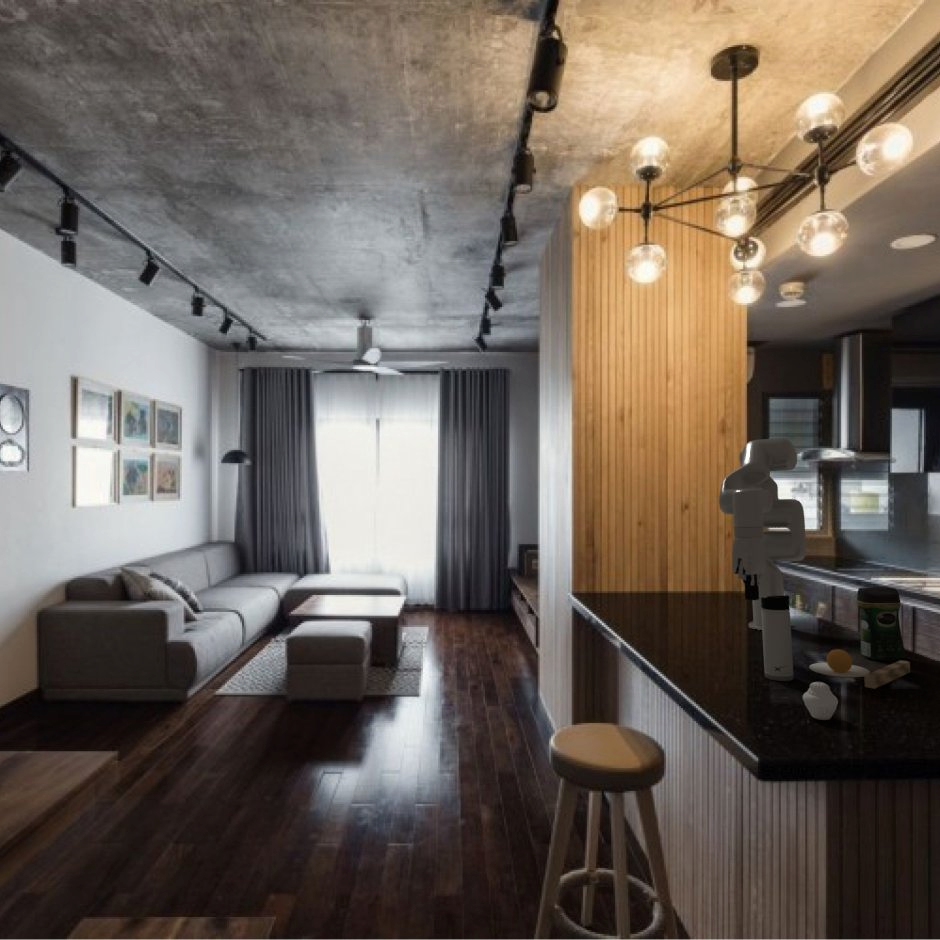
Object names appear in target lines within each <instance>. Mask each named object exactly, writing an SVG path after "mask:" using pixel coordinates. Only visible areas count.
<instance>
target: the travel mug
mask: <svg viewBox="0 0 940 940" xmlns="http://www.w3.org/2000/svg"><path fill="white" fill-rule="evenodd" d="M761 604H762V605H761V610H762V611H761V613H762V631H761V632H762V647H763V648H762V649H763V650H762V651H763V665H764V677H765V678H766V679H768V680H770V681H771V680H772V681H775V682H789V681H792V680H794V663H793V662H794V661H793V647H792V646H793V644H792V643H793V642H792V625H791V613H790V612H791V607H790V595H787V594H786V595H785V594H784V596H767V598H763V597H761Z"/></svg>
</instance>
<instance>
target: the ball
mask: <svg viewBox="0 0 940 940" xmlns="http://www.w3.org/2000/svg"><path fill="white" fill-rule="evenodd" d="M826 662H827V664H828V666H829V667H830V668H831V669H832V670H834V671H836V672H841V673H843V672H847V671H848V670H850V668H851V667H852V665H853V659H852V656H851V655H850V654H849V653H848V652H847V651H845V650H843V649H840V648H839V649H838V648H837V649H832V650H830V651H829V652H828V653H827V656H826Z"/></svg>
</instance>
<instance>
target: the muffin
mask: <svg viewBox="0 0 940 940" xmlns="http://www.w3.org/2000/svg"><path fill="white" fill-rule="evenodd" d="M802 701H803V702H804V705H805V707H806V709H807V710H808V711H809V713H810V716H811V717H812V718H814V719H815V720H820V721H821V720H822V721H826V720H827V721H828V720H831V718H832V716H833V715H834V713H835V711H836V710H837V707H838V703H839V699H838V698H837V697H836V696H835V695H834V694H833V692H832V691H831V689H830V686H829V685H828V684H826V683H824V682H822V681H815V682H814V681H813V682H812V683H810V684H809V688H808V689H807V691H805V692H804V693H803V695H802Z"/></svg>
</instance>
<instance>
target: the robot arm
mask: <svg viewBox="0 0 940 940" xmlns="http://www.w3.org/2000/svg"><path fill="white" fill-rule="evenodd" d="M739 463H740V465H739V467H738V468H737V469H735V470H734V471H733V472H731V473H729V474H728V475H727V476H725V478H724V479H723V481H722V483H721V486H720V492H719V497H718V504H719V509H720V510H721V512H722V513H724V514H725V515H733V519H732V520H733V533H734V535H733V537H734V538H733V541H732V542H733V544H732V553H731V554H732V559H731V561H732V563H731V564H732V568H731V569H732V573H733V574H734V575H737V576H738V577H737V579H738V580H741V581H742V583H743V586H744V598H745V600H747V601H750V600H751V601H752V616H753V620H752V621H750V622H749V623H748V628H749V629H752V630H755V629H757V630H756V631H760V630H762V613H761V611H762V610H761V605H762V604H761V597H763V598H767V596H785V594H784V593H785V592H784V591H785V588H784V576H783V573H782V571H781V569H780V568H779V567H778V566H777V564H775V563H774V562H800V561H803V560H804V559H805V557H806V553H807V540H806V520H805V511H804V505H803V504H802V503H801V501H800V500H798V499H794V498H782V499H780V498H779V485H778V484H777V482H776V481H775V480H774V478H773V477H771V475H770V474H771V472H781V471H783V472H784V471H785V472H786V471H791V470H794V469H795V468H796V466H797V463H798V454H797V450H796V448H795V446H794V444H793V442H792V441H790V440H789V439H787V438H783V437H779V438H777V437H776V438H766V439H765V438H763V439H754V440H750V441H749V442H747V443H746V444H744V447H743V449H742V450H741V451H740V452H739ZM764 529H787V530H789V531H771V530H770V531H764Z"/></svg>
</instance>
